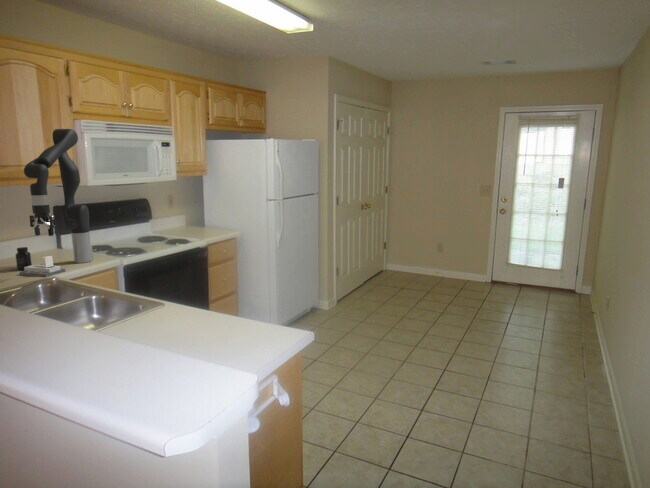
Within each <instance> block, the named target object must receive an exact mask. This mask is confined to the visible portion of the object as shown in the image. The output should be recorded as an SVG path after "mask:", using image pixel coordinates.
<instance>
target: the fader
mask: <svg viewBox="0 0 650 488" xmlns="http://www.w3.org/2000/svg"><path fill="white" fill-rule="evenodd" d="M41 261H42V265H43V268H53V266H54V261H53V255H47V256H42V257H41Z"/></svg>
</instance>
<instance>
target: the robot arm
mask: <svg viewBox="0 0 650 488" xmlns="http://www.w3.org/2000/svg"><path fill="white" fill-rule="evenodd" d="M78 140H79V137H78V133H77V131H76V130H75V129H73V128H55V129H54V130H53V131H52V142H53V145H51V146H49V147H48V148H46V149H45V150H44V151H42V152H41V153H40V154H39V155H38V157H35V158H34V159H33V160H31V161H30V162H28V163H27V164H26V165H25V166H24V168H23V173H24V176H25V177H27V178H29V179H36V182H34V183H31V184H30V185H29V188H30V189H29V190H30V196H31V197H30V202H31V209H32V210H31V211H32V215H29V217H28V218H29V227H31V228H33V229H34V235H35V236H37V237H38V236H41V229H40V226H41V225H44V226H45V227H46V228H47V233H48V236H49V237H53V236H54V234H55V233H54V228H57V222H56V217H55V215H50V213H51V209H50V201H49V196H48V188H47V186H48V179H49V174H50V171H49V168H51V167H52V166H53V164H55V162H56V161H58V166H59V173H60V179H61V184H62V191H63V199H64V211H65V216H66V218H67V220H68V221H70V222H71V221H74V222H75V221H76V222H78V224H77V225H76V226H73V227H71V228H70V233H71V243H72V253H73V260H74V262H73V263H76V264H81V263H89V262H92V261H93V260H94V252H93V244H92V243H91V237H90V235H91V234H90V225H91V224H90V212H89V211H90V210H89V207H88V206H87V205H86V204H76V203H75V194H77V193H76V192H77V190H78V189H79V186H80V184H81V178H80V171H79V168H78V167H77V165H76V163H75V162H74V161H73V160H72V158H71V157H70V156H69V154H68V151H69V150H70V149H72V148H73V147H74V146H75V145H77V143H78Z"/></svg>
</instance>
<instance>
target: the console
mask: <svg viewBox="0 0 650 488" xmlns="http://www.w3.org/2000/svg"><path fill="white" fill-rule="evenodd" d="M65 272H66V268H61V265H53V268H43V264H32V265H31V266H27V267H24V270H21V271H19V276H28V277H29V276H30V277H44V278H46V277H50V276H54V275H57V274H61V273H65Z"/></svg>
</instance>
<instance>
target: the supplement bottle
mask: <svg viewBox="0 0 650 488" xmlns="http://www.w3.org/2000/svg"><path fill="white" fill-rule="evenodd" d="M15 262H16V268H17V270H18V271H25V270H24V267H27V266H31V265H33V263H32V254H31V252H30V251H29V249H28V247H27V246H19V247H17V248H16V253H15Z"/></svg>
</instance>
